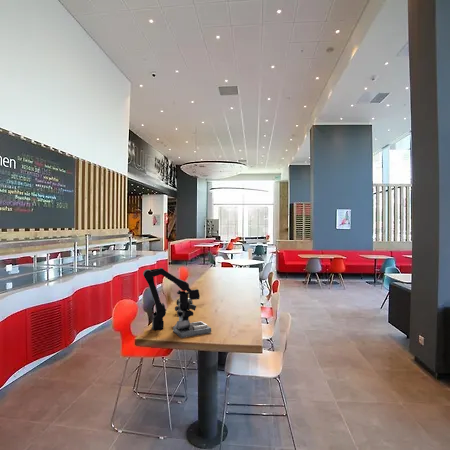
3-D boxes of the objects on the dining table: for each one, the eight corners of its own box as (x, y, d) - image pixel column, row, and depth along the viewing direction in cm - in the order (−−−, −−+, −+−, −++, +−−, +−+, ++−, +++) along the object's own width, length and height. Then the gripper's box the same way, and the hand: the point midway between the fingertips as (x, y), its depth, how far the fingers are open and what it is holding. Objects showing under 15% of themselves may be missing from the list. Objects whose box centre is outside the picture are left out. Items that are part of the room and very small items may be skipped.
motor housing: (179, 338, 184) (179, 324, 184) (171, 331, 196) (171, 318, 196) (211, 332, 194) (211, 319, 195) (201, 326, 207) (201, 314, 207)
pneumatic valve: (178, 311, 245) (178, 296, 245) (192, 312, 243) (192, 296, 243) (175, 313, 239) (176, 297, 239) (190, 314, 238) (190, 298, 238)
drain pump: (181, 327, 204) (181, 317, 204) (178, 325, 209) (178, 315, 209) (188, 326, 207) (188, 316, 207) (185, 324, 211) (185, 314, 211)
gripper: (200, 301, 204) (200, 325, 204) (189, 296, 220) (189, 318, 220) (184, 303, 198) (184, 328, 198) (174, 298, 215) (174, 320, 214)
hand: (183, 323), depth 208 cm, fingers open, 6 cm apart
